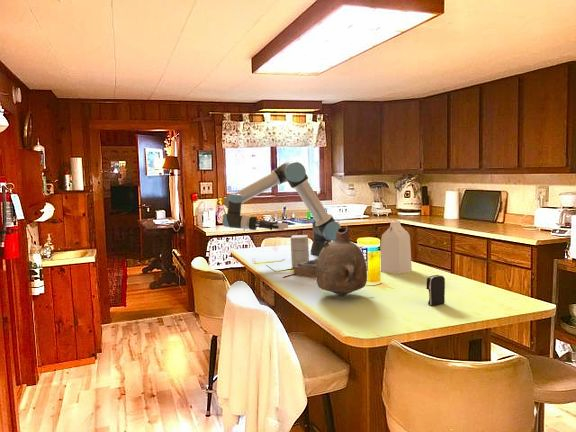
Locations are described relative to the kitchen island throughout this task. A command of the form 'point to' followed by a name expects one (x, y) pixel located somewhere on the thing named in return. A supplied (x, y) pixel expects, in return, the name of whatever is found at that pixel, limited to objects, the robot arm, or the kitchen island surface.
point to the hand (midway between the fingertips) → (286, 226)
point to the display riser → (306, 268)
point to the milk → (395, 250)
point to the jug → (341, 265)
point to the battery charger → (436, 290)
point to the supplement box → (299, 249)
